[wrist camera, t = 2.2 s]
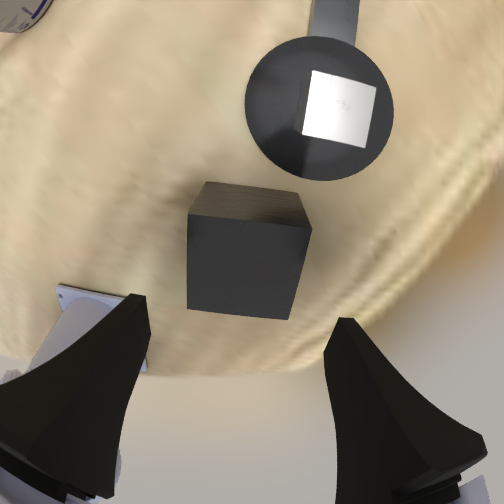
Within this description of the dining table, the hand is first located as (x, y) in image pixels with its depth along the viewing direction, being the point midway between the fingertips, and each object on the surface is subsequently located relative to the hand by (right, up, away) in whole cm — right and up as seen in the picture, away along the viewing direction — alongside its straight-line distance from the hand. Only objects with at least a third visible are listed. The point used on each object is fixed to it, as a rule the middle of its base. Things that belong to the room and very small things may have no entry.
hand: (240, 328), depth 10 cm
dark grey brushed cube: (0, +4, +8) cm, 9 cm away
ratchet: (+5, +16, +1) cm, 17 cm away
